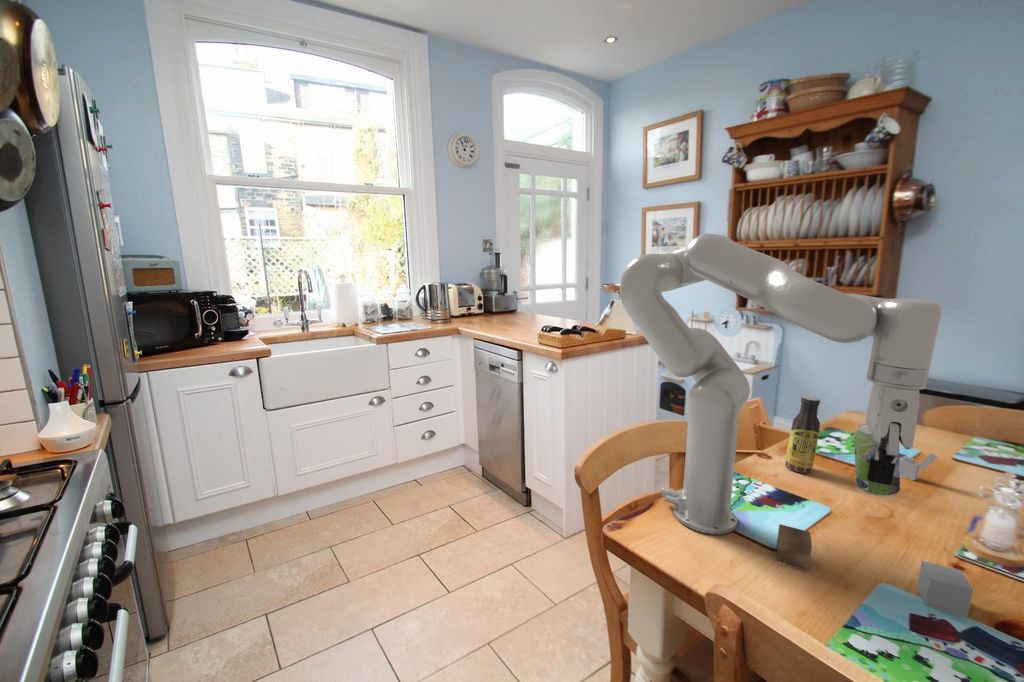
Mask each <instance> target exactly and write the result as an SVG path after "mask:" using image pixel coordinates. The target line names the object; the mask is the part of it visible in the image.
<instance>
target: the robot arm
mask: <svg viewBox="0 0 1024 682" xmlns="http://www.w3.org/2000/svg"><path fill="white" fill-rule="evenodd" d="M704 281H708V282H710V283H711V284H715V285H717V286H719V287H721V288H724V289H726V290H728V291H730V292H733V293H735V294H737V295H739V296H742V297H743V298H745V299H747V300H749V301H750V302H753V303H755V304H757V305H758V306H760V307H761V308H764V309H765V310H768V311H770V312H771V313H774V314H775V315H777V316H779V317H781V318H783V319H785V320H786V321H788V322H790V323H792V324H794V325H796V326H799V328H803V329H805V330H807V331H809V332H812V333H814V334H816V335H818V336H820V337H823V338H825V339H827V340H828V341H829V340H830V341H832V342H836V343H840V344H853V343H857V342H861V341H862V340H865V339H866V338H868V337H872V339H873V340H872V345H871V352H870V357H869V363H868V368H867V372H866V373H867V374H866V378H865V379H866V380H867V381H869V382H870V383H872V386H871V391H870V396H869V399H868V404H867V410H866V416H865V424H866V425H867V427H868V430H869V432H870V434H871V438H872V439H873V441H874V442H875V443H876V444H875V450H874V456H873V458H871V459H870V464H869V470H868V475H867V479H868V481H871V482H876V483H881V484H885V485H891V484H892V479H893V475H894V470H895V465H896V459H897V456H898V446H899V447H900V443H901V445H902V446H903V448H904V449H905V450H911V449H912V448H913V446H914V443H915V442H914V441H915V435H916V428H917V422H918V415H919V407H920V406H919V405H920V390H921V391H922V390H924V389H926V388H927V387H926V386H927V383H928V377H929V374H930V367H931V362H932V359H933V354H934V350H935V345H936V341H937V340H936V339H937V335H938V330H939V325H940V323H941V322H940V321H941V317H942V307H941V306H940V304H939V303H938V302H935V301H932V300H928V299H927V300H926V299H918V298H916V299H915V298H905V297H904V298H901V297H900V298H899V297H898V298H883V297H875V296H871V295H864V294H859V293H846V292H845V293H844V292H842V291H839V290H838V289H835V288H832V287H830V286H827V285H825V284H824V283H823V284H822V283H820V282H818V281H815V280H813V279H811V278H809V277H806V276H805V275H802V274H801V273H799V272H797V271H796V270H795V269H793V268H792V267H790V266H789V265H788V264H787V263H785V262H784V261H783V260H780V259H778V258H776V257H773V256H772V255H771V256H770V255H768V254H766V253H763V252H761V251H757V250H754V249H752V248H750V247H749V246H748V247H747V246H746V245H745V246H744V245H742V244H740V243H738V242H735V241H734V240H733V239H731V238H730V237H728V236H726V235H722V234H718V233H703V234H700V235H698V236H696V237H694V238H693V239H691V241H690V242H689V243H688V244H687V246H684V247H682V248H679V249H676V250H675V249H674V250H673V251H670V252H666V253H647V254H641V255H640V256H637V257H635V258H634V259H633V260H631V261H630V262H629V263H628V264H627V266H626V267H625V268H624V271H623V273H622V275H621V278H620V284H619V296H620V300H621V304H622V306H623V308H624V309H625V310H624V311H626V314H627V315H628V317H629V318H630V319H631V321H632V322H633V323H634V325H635V326H636V327H637V328H638V329H639V331H640V333H641V334H642V336H643V337H644V339H645V340H646V342H648V344H649V346H650V348H652V350H653V351H654V352H655V354H656V355H657V357H658V358H659V360H660V361H661V363H662V364H663V365H664V367H665V368H666V369H667V370H668V371H669V373H671V374H672V375H674V376H675V377H679V378H687V377H689V378H690V377H692V378H693V379H694V381H695V383H694V385H692V387H691V388H690V391H689V392H688V396H687V400H686V417H687V420H686V421H687V430H686V431H687V432H686V444H685V447H686V449H685V458H684V459H685V461H684V472H683V483H682V485H683V486H682V489H681V490H680V489H677V490H674V489H671V488H667V487H662V488H661V493H660V495H661V497H664V502H667V503H672V504H673V509H672V510H673V515H674V517H675V518H676V519H677V520H678V521H679V523H681V524H682V525H684V526H685V527H688V528H690V529H691V530H693V531H697V532H700V533H704V534H708V535H726V534H728V533H731V532H733V531H734V530H735V529H736V528H737V526H738V518H737V516H736V514H735V513H734V512H733V511H732V510H731V502H732V494H733V493H732V491H733V484H734V483H733V482H734V475H735V464H736V457H737V454H736V453H737V445H738V419H739V414H740V410H741V409H742V408H743V407H744V405H745V404H746V403H747V401H748V399H749V397H750V394H751V386H750V383H749V380H748V379H747V377H746V374H745V373H744V372H743V371H742V370H741V368H740V367H739V366H738V365H737V363H736V362H735V360H734V359H733V358H732V357H731V355H730V354H729V353H728V351H727V350H726V349H725V348H724V346H723V345H722V343H720V341H719V340H718V339H717V337H715V336H714V335H713V334H712V333H711V332H710V331H707V330H705V329H703V328H700V327H699V328H698V327H689V325H688V324H687V323H686V322H685V321H684V319H682V317H681V316H680V314H679V312H678V311H677V310H676V309H675V308H674V307H673V306H672V305H671V304H670V303H669V302H668V301H667V300H666V299H665V298H664V296H663V294H662V293H665V292H670V291H675V290H677V289H681V288H683V287H686V286H687V287H688V286H690V285H694V284H698V283H701V282H704ZM881 439H884V440H887V443H885V442H882V441H881ZM881 447H886V448H885V449H882V450H880V449H881Z"/></svg>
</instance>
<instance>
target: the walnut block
mask: <svg viewBox="0 0 1024 682" xmlns="http://www.w3.org/2000/svg"><path fill="white" fill-rule="evenodd" d="M778 525H779V526H778V532H777V539H776V546H777V553H776V552H775V553H776V557H775V559H776V560H775V561H778V562H777V563H779V562H781V563H780V564H783V563H785V564H784V565H786V564H787V566H789V565H791V566H790V567H793V566H794V567H793V568H796V567H797V568H796V569H799V570H804V571H807V572H809V570H810V564H811V556H812V549H813V546H812V545H813V544H812V537H811V536H812V535H811V531H809V530H804V529H799V528H796V527H792V526H789V525H785V524H782V523H781V524H778Z"/></svg>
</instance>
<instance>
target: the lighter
mask: <svg viewBox="0 0 1024 682" xmlns="http://www.w3.org/2000/svg"><path fill="white" fill-rule="evenodd" d="M937 458H938V456H937V455H936V454H934V453H933V452H932V453H930V454H928V456H927V457H925V458H924V459H923V460H922V461H921V462H920V463H918V462H915V460H916V459H915V458H912V457H909V456H902V457H899V465H900V476H902V477H901V478H903V477H905V478H904V479H906V478H909V479H912V480H916V479H917V480H918V478H919V477H918V476H919V472H920V468H921V469H923V470H925V469H927V468H928V467H929V466H930V465H931V464H933V462H934V461H935V460H937ZM909 479H908V480H909ZM912 480H911V481H912ZM917 480H916V481H917Z"/></svg>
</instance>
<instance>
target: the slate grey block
mask: <svg viewBox="0 0 1024 682" xmlns="http://www.w3.org/2000/svg"><path fill="white" fill-rule="evenodd" d="M916 587H917V589H918V591H919V594H920V597H921V599H922V600H923V603H924V606H927V607H931V608H933V609H937V610H941V611H945V612H948V613H951V614H954V615H958V616H961V617H964V618H968V615H969V610H970V607H971V601H972V597H973V592H974V589H973V586H972V585H971V584H970V582H969V581H968V579H967V577H966V575H965V574H964V572H963V571H962V570H960V569H957V568H953V567H949V566H944V565H941V564H937V563H934V562H933V563H932V562H929V561H926V560H921V564H920V569H919V573H918V579H917V583H916Z"/></svg>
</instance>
